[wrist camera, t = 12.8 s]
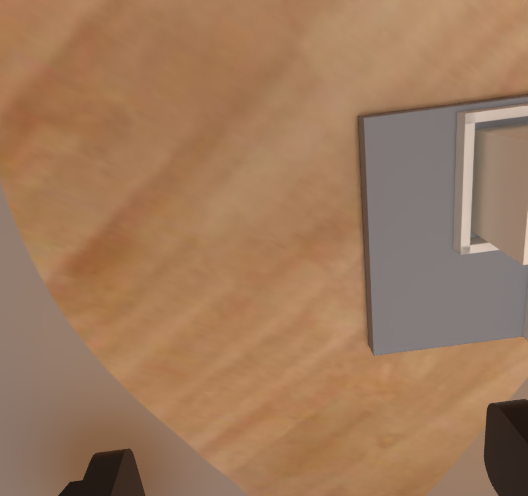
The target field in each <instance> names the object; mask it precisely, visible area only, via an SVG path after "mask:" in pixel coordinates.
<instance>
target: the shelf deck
mask: <svg viewBox="0 0 528 496" xmlns="http://www.w3.org/2000/svg"><path fill="white" fill-rule="evenodd" d="M524 123H528V94H527V95H520V96H512V97H504V98H496V99H489V100H481V101H473V102H465V103H458V104H450V105H442V106H434V107H427V108H419V109H411V110H403V111H396V112H388V113H380V114H372V115H365V116H358V124H359V146H360V168H361V190H362V212H363V234H364V256H365V278H366V299H367V321H368V343H369V347H370V349H371V351H372V353H373V355H374V356H375V355H383V354H390V353H398V352H406V351H414V350H422V349H429V348H437V347H445V346H453V345H460V344H468V343H476V342H484V341H492V340H499V339H507V338H515V337H524V338H525V339H526V340H528V264H527V265H522V264H521V263H519V262H518V261H516V260H515V259H513V258H512V257H510V256H508V255H507V254H505V253H504V252H502V251H501V250H499V249H498V248H496V247H495V246H493V245H492V244H490V243H489V242H487V241H486V240H484V239H483V238H481V237H480V236H478V235H477V234H475V233H473V232H472V210H473V185H474V161H475V136H476V130H478V129H486V128H493V127H501V126H508V125H516V124H524Z"/></svg>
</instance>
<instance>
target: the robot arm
mask: <svg viewBox="0 0 528 496" xmlns="http://www.w3.org/2000/svg"><path fill="white" fill-rule="evenodd" d="M484 462H485V466H486V471H487V473H488V477H489V479H490V482H491V483H492V486H493V487H494V489H495V490H496V492H497V494H498V495H499V496H528V400H526V399H521V400H513V401H505V402H498V403H491V404H489V405H488V408H487V416H486V432H485V447H484ZM59 496H145V493H144V489H143V486H142V482H141V479H140V476H139V472H138V468H137V465H136V461H135V458H134V455H133V452H132V451H131V449H122V450H114V451H107V452H99V453H95V454H94V455H93V457H92V459H91V461H90V463H89V466H88V468H87V471H86V473H85V476H84V478H83V480H81V481H74V482H70V483H69V484H68V485H67V486H66V487H65V489H64V490H63V491H62V492H61V493H60V494H59Z"/></svg>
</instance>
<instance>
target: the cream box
mask: <svg viewBox="0 0 528 496" xmlns="http://www.w3.org/2000/svg"><path fill="white" fill-rule="evenodd" d="M472 232H473V233H475V234H477V235H478V236H480V237H481V238H483V239H484V240H486V241H487V242H489V243H490V244H492V245H493V246H495V247H496V248H498V249H499V250H501V251H502V252H504V253H505V254H507V255H508V256H510V257H512V258H513V259H515V260H516V261H518V262H519V263H521V264H522V265H527V264H528V123H524V124H516V125H508V126H501V127H493V128H486V129H478V130H476V136H475V161H474V185H473V210H472Z"/></svg>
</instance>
